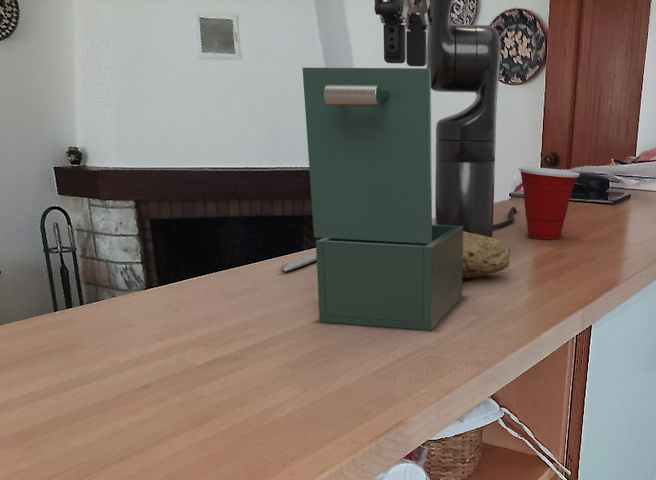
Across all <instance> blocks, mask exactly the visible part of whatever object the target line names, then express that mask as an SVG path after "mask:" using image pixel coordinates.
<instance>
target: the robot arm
mask: <svg viewBox="0 0 656 480" xmlns="http://www.w3.org/2000/svg"><path fill="white" fill-rule="evenodd" d="M453 4H454V0H374V13H375V15H376V16H379V19H380V22H381V24H383V60H384V62H385V63H387V64H404V63H406V65H407V66H409V67H425V68H430V69H431V91H434V92H438V93H470V94H471V93H472V94H473V93H475V99H474V101H473V102H472V103H471V104H470V105H469V106H467V107H466V108H464V109H463V110H460V111H459V112H457V113H455V114H452V115H448V116H446V117H442V118H441V119H439V120H438V121H437V122H436V124H435V192H434V193H435V196H434V197H435V198H434V199H435V200H434V201H435V204H434V205H435V207H434V208H435V210H434V211H435V212H434V213H435V214H434V215H435V217H434V218H435V221H434V222H435V223H434V225H454V226H463V231H465V232H468V233H473V234H478V235H482V236H487V237H491V238H494V237H493V233H494V232H493V231H494V229H499V228H501V227H505V226H507V225H509V224H511V223H512V222H513V221H514V215H513V213H514V214H517V213H518V211H517V208H516V206H512V207H511V208H510V210H509V211H508V213H507V214H508V219H507V220H505V221H502V222H499V223H496V224H494V209H495V208H494V207H495V206H494V205H495V177H496V174H495V173H496V140H497V109H498V107H497V105H498V90H499V79H500V66H501V37H500V35H499V31H498V30H497V28H496V27H495V26H493V25H488V24H453V23H450V15H451V10H452V6H453Z"/></svg>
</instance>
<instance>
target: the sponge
mask: <svg viewBox="0 0 656 480" xmlns="http://www.w3.org/2000/svg"><path fill="white" fill-rule="evenodd" d="M510 252H511V248H510V247H508V246H507V245H505V244H504V242H503V241H502V240H500V239H497V238H495V237H493V238H491V237H487V236H482V235H478V234H473V233H468V232H465V231H463V267H462V279H471V278H477V277H482V276H486V275H489V274H494V273H498V272H500V271H503V270H505V269H507V268H508V267H509V266H510V264H511V263H510V254H511V253H510Z"/></svg>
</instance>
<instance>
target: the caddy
mask: <svg viewBox="0 0 656 480" xmlns="http://www.w3.org/2000/svg"><path fill="white" fill-rule="evenodd" d="M315 253H316V257H317V260H316V274H317V275H316V277H317V296H318V315H319V322H320V323H329V324H340V325H341V324H342V325H343V324H344V325H355V326H368V327H380V328H381V327H382V328H392V329H393V328H395V329H406V330H420V331H421V330H422V331H432V330H433V329H434V328H435V327H436V326H437V325H438V324H439V322H440V321H441V320H442V319H443V318H444V317H445V316H446V315H447V314H448V313H449V312H450V311H451V310H452V308H454V306H456V304H457V303H458V302H459V301H461V299H462V298H463V278H462V267H463V226H454V225H435V223H434V224H433V223H432V242H431V243H430V244H426V243H407V242H388V241H370V240H351V239H332V238H319V239H318V240H316V241H315Z"/></svg>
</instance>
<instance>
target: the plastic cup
mask: <svg viewBox="0 0 656 480" xmlns="http://www.w3.org/2000/svg"><path fill="white" fill-rule="evenodd" d="M518 171H519V172H520V175H521V182H522V183H521V184H522V186H521V187H522V188H523V189H522V191H523V203H524V212H525V213H524V214H525V219H526V226H527V233H528V237H529V238H532V239H539V240H557V239H560V238H561V235H562V232H563V227H564V223H565V219H566V216H567V212H568V208H569V204H570V201H571V197H572V191H573V190H574V186H575V184H576V181H577V179H578V178H579V177H580V174H581V173H579V172H575V171H569V170H562V169H555V168H547V167H546V168H545V167H537V166H536V167H535V166H533V167H532V166H520V167H518Z"/></svg>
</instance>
